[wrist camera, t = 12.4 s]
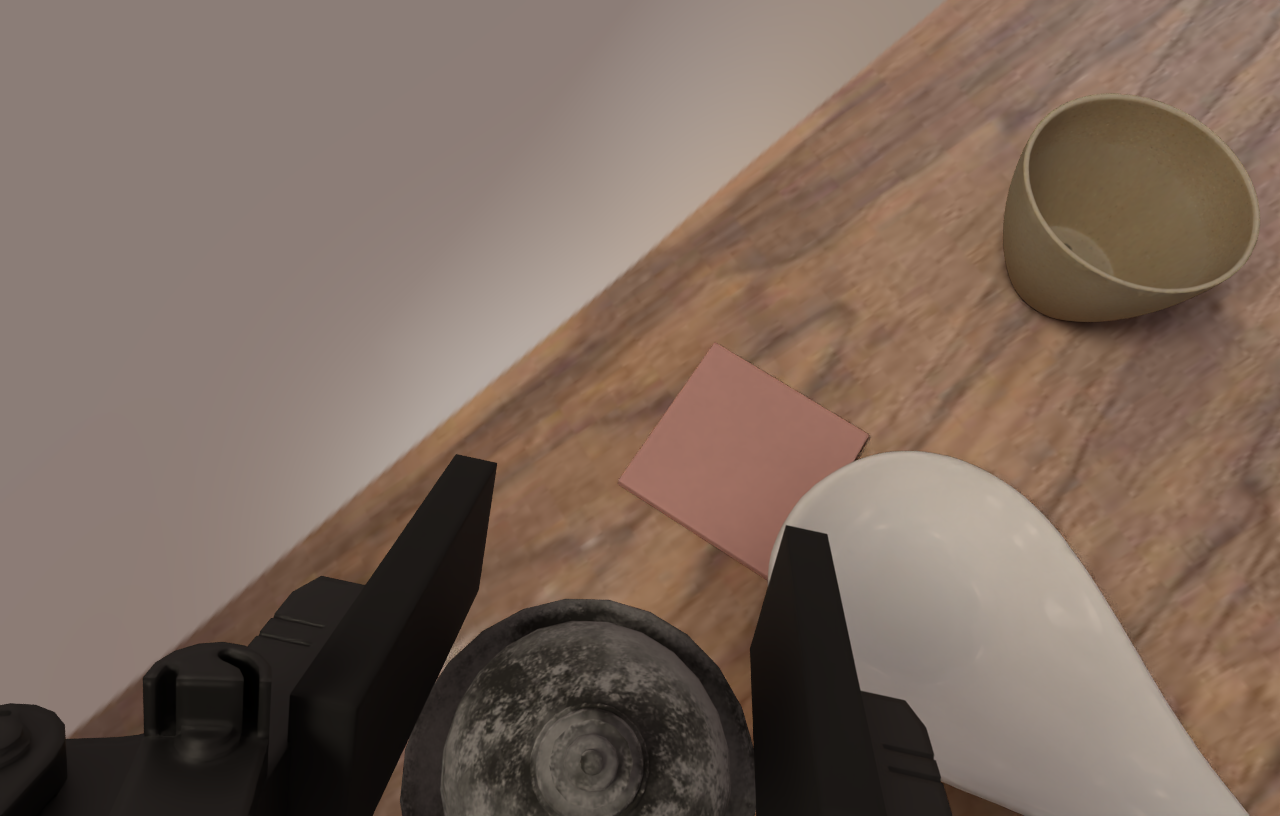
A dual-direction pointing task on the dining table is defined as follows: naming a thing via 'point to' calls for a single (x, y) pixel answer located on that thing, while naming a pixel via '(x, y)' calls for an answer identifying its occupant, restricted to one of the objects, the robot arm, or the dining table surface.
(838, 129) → the dining table surface
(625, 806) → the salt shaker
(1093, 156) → the flower pot
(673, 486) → the mat
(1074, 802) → the spoon rest
